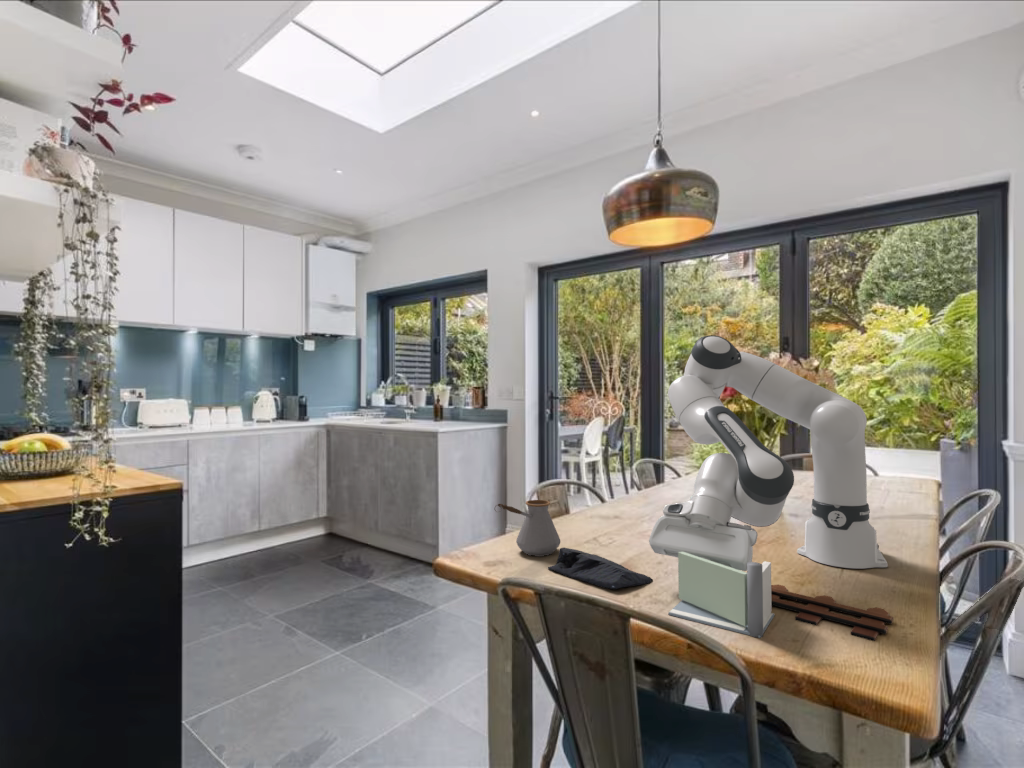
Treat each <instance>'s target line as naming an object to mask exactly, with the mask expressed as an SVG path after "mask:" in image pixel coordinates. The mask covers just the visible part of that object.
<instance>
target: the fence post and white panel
mask: <svg viewBox="0 0 1024 768" xmlns="http://www.w3.org/2000/svg"><path fill="white" fill-rule="evenodd" d="M746 572H747V600H748V632H749V633H750V635H749V636H750V637H753V638H758V635H761V638H763V637H764V633H763V623H764V622H765V620H766V619H767V617H768V616H769V614H770V613H772V606H773V605H772V603H771V585H772V562H770V561H764V560H763V562H762V563H760V562H757V561H756V562H755V561H752V562H748V563H747V571H746Z"/></svg>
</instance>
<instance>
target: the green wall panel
mask: <svg viewBox="0 0 1024 768" xmlns="http://www.w3.org/2000/svg"><path fill="white" fill-rule="evenodd" d="M677 560H678V561H677V563H678V564H677V565H678V567H677V568H678V570H677V571H678V575H677V576H678V577H677V578H678V599H680V600H681V601H682V600H684V601H686V602H689V603H691V604H693V605H696V606H698V607H701V608H703V609H705V610H708V611H710V612H712V613H715V614H717V615H719V616H722V617H724V618H726V619H729V620H731V621H734V622H736V623H738V624H741V625H743V626H747V625H748V600H747V571H742V570H738V569H734V568H731V567H728V566H725V565H722V564H719V563H716V562H713V561H710V560H707V559H704V558H701V557H698V556H695V555H692V554H689V553H685V552H678V558H677Z"/></svg>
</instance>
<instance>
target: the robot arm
mask: <svg viewBox="0 0 1024 768" xmlns="http://www.w3.org/2000/svg"><path fill="white" fill-rule="evenodd" d="M726 387H728V388H733V389H734V390H736V391H737V392H739V393H740V394H741V395H743V396H744V397H746V398H748V399H749V400H751V401H753V402H755V403H756V404H758V405H759V406H762V407H764V408H766V409H767V410H769V411H770V412H773V413H774V414H776V415H777V416H780V417H782V418H785V419H787V420H789V421H791V422H793V423H795V424H798V425H800V426H801V427H804V428H806V429H808V430H809V431H810V444H811V446H810V447H811V455H812V456H811V457H812V458H811V459H812V464H813V465H812V466H813V499H812V501H811V507H810V508H811V514H812V516H811V517H810V518H809V519H807V520H806V521H805V522H804V523H805V524H804V525H805V527H804V544H803V545H802V546H800V547H798V548H797V550H796V553H797V554H798V555H802V556H805V557H806V558H809V559H810V560H812V561H814V562H817V563H820V564H823V565H828V566H832V567H837V568H845V569H857V570H858V569H871V568H888V567H889V566H888V565H889V564H888V562H887V559H886V558H885V557H884V555H883V553H882V551H880V548H879V547H880V545H879V544H878V542H877V539H878V538H877V536H878V535H877V530H876V529H875V527H874V526H872V525H871V523H870V521H869V520H870V512H871V511H870V510H871V509H870V506H869V503H868V501H867V499H868V498H867V497H868V496H867V493H868V492H867V488H868V487H867V480H868V479H867V460H866V459H867V458H866V439H865V438H866V435H865V434H866V433H865V432H866V431H865V430H866V428H867V422H868V421H867V420H868V419H867V415H866V413H865V411H864V410H863V408H862V407H861V406H860V405H859V404H857V403H856V402H854V401H852V400H850V399H848V398H846V397H844V396H843V395H840V394H838V393H836V392H834V391H831V390H829V389H827V388H825V387H823V386H821V385H819V384H817V383H816V382H815V383H814V382H813V381H810V380H808V379H806V378H804V377H803V376H800V375H798V374H796V373H794V372H793V371H790V370H789V369H787V368H785V367H783V366H781V365H778V364H776V363H774V362H772V361H770V360H768V359H766V358H764V357H761V356H758V355H755V354H753V353H750V352H745V351H739V349H738V348H736V346H735V345H734V344H733V343H732V342H731V341H729V340H728V339H726V338H724V337H722V336H719V335H714V334H713V335H711V334H710V335H705V336H702V337H700V338H699V339H697V340H696V342H695V343H694V345H693V346H692V348H691V353H690V355H689V357H688V360H687V362H686V364H685V367H684V373H683V375H681V376H679V377H677V378H676V379H674V380H673V381H672V382H671V384H670V385H669V387H668V389H667V397H668V400H669V403H670V405H671V408H672V410H673V414H674V415H675V418H677V421H678V422H679V424H680V426H681V427H682V429H683V430H684V432H685V433H686V434H687V435H688V436H689V438H690V439H691V440H692V441H693V442H694V443H697V444H699V445H707V446H708V445H713V444H717V443H719V442H720V443H721V444H722V445H723V446H724V448H725V449H726V450H727V452H728V453H727V452H716V453H712V454H711V455H709V456H707V457H706V458H705V459H704V460H703V462H702V464H701V466H700V467H699V470H698V472H697V475H696V478H695V481H694V483H693V493H692V495H691V497H690V499H689V500H687V501H683V502H678V503H677V502H676V503H670V504H665V505H664V506H663V509H662V513H663V515H662V516H660V517H659V518H658V519H657V520H656V522H655V523H654V525H653V528H652V530H651V533H650V535H649V538H648V543H649V546H650V548H651V549H652V551H653V552H654V553H655V554H657V555H658V554H659V555H664V556H669V557H674V558H677V559H678V552H685V553H689V554H692V555H695V556H698V557H701V558H704V559H707V560H710V561H713V562H716V563H719V564H722V565H725V566H728V567H731V568H734V569H738V570H741V571H744V572H747V563H748V562H753V551H754V549H753V546H755V545H756V543H757V540H758V532H757V530H756V529H755V528H753V527H758V528H763V527H765V528H766V527H770V526H772V525H773V524H775V523H776V522H777V521H778V520H779V519H780V517H781V514H782V511H783V508H784V506H785V503H786V501H787V497H788V495H789V494H790V492H791V490H792V489H793V486H794V484H795V475H794V471H793V470H792V469H793V468H792V467H791V466H790V464H789V463H788V462H787V461H786V460H784V459H783V458H782V456H780V455H778V454H777V453H776V452H774V451H772V450H771V449H769V448H768V447H767V446H765V445H764V444H763V443H762V442H761V441H760V440H759V439H758V437H757V436H756V435H755V434H754V433H753V431H751V430H750V429H749V427H748V426H747V425H746V424H745V423H744V422H743V421H742V420H741V418H740V417H739V416H737V414H736V413H734V411H732V410H731V409H729V408H728V407H726V406H725V404H723V402H722V400H721V395H722V393H723V392H724V390H725V388H726ZM731 518H732V519H735V520H737V521H739V522H742V523H744V524H739V523H734V522H731ZM752 526H753V527H752Z"/></svg>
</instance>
